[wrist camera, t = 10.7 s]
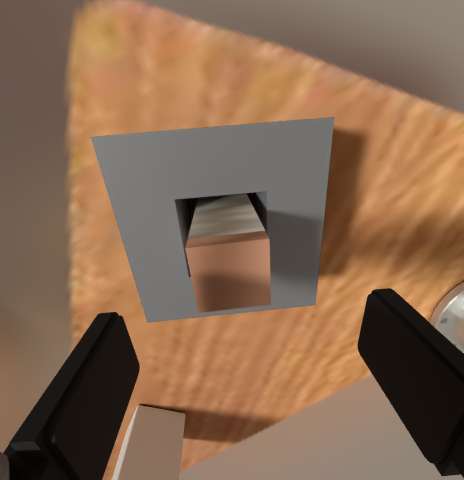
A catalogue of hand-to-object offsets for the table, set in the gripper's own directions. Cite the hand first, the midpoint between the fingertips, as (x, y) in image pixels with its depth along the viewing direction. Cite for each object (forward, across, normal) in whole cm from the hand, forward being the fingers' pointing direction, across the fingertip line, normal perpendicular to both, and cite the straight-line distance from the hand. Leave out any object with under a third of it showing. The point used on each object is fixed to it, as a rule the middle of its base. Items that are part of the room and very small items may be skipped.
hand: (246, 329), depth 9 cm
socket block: (+14, +1, 0) cm, 14 cm away
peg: (+14, +1, 0) cm, 14 cm away
